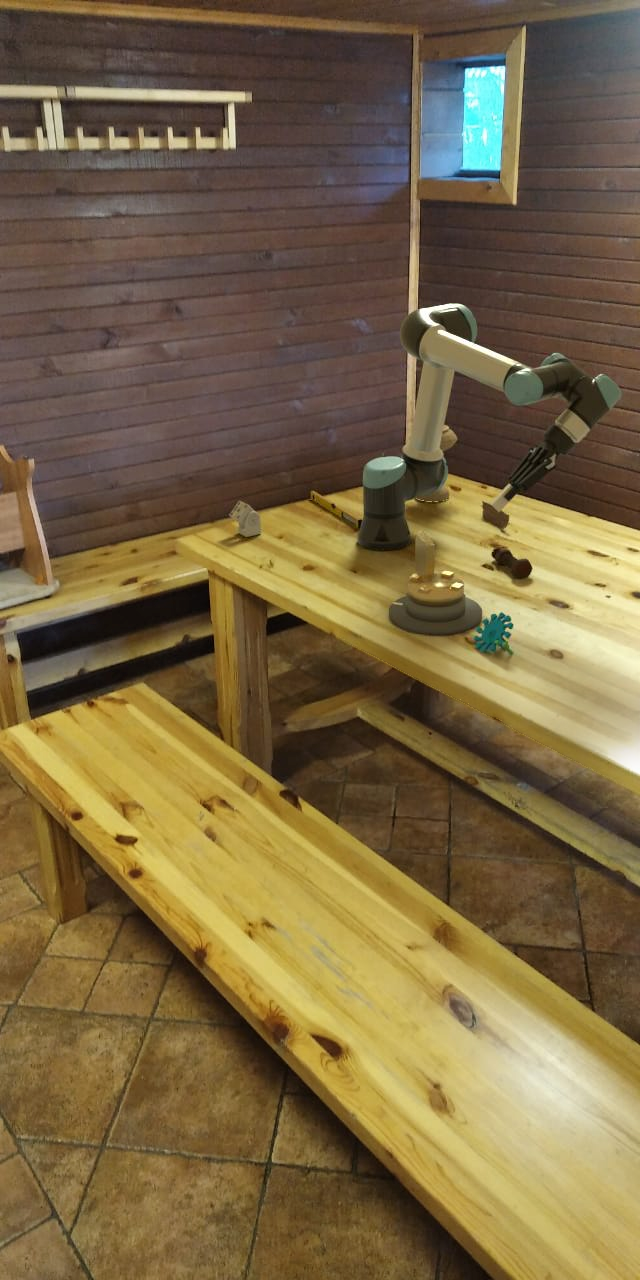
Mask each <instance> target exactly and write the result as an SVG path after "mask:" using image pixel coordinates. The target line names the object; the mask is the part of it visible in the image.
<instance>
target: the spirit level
mask: <svg viewBox="0 0 640 1280" xmlns="http://www.w3.org/2000/svg"><path fill="white" fill-rule="evenodd" d="M309 495H310V496H309V499H310V500H311V501H313V502H315V503H316V504H319V506H321V507H323V508H325V509H326V510H328V511H329V512H331V513H332V512H333V513H332V514H334V515H336V516H337V515H338V516H337V517H339V518H340V517H341V518H340V519H342V518H343V519H342V520H344V521H345V520H346V523H349V524H350V523H351V524H350V525H352V526H353V525H354V527H355V526H356V529H358V528H359V529H360V527H361V523H362V520H363V518H362V519H361V518H359V517H358V516H356V515H355V514H352V513H351V512H349V511H347V510H346V509H344V508H343V507H341V506H339V505H335V502H333V501H331V500H329V499H328V498H326V497H324V496H322V495H321V494H319V493H318V492H316V491H315V490H310V492H309ZM315 499H316V500H315Z"/></svg>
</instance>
